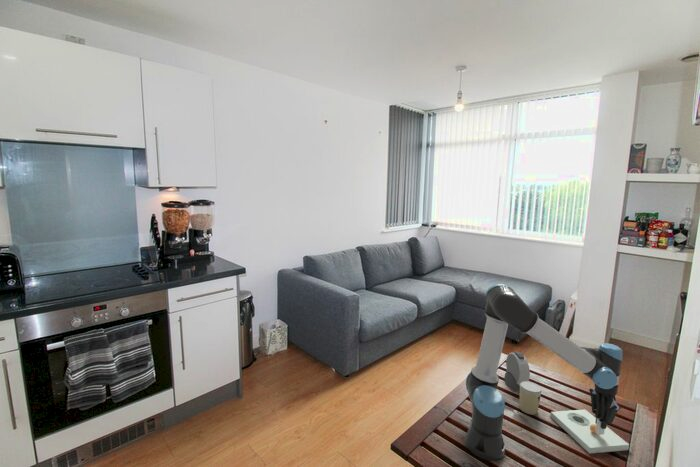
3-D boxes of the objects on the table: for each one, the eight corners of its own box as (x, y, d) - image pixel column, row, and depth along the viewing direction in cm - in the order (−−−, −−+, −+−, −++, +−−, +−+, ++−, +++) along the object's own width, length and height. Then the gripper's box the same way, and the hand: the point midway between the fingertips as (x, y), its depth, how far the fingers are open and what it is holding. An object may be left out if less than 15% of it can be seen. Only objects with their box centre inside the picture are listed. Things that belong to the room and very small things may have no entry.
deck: (628, 450, 138) (629, 444, 137) (589, 453, 135) (590, 447, 135) (584, 414, 159) (585, 409, 159) (550, 416, 157) (550, 411, 156)
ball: (594, 426, 142) (587, 422, 145) (594, 435, 141) (588, 431, 145) (601, 426, 142) (594, 422, 146) (602, 435, 142) (595, 431, 145)
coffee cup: (542, 417, 156) (545, 393, 155) (520, 414, 158) (523, 390, 156) (535, 404, 165) (538, 382, 164) (515, 401, 167) (517, 379, 166)
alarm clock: (533, 393, 174) (536, 361, 172) (513, 393, 174) (516, 360, 172) (517, 376, 190) (521, 346, 188) (500, 375, 190) (502, 345, 188)
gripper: (629, 390, 132) (621, 444, 135) (601, 372, 145) (594, 422, 148) (612, 391, 131) (605, 445, 134) (585, 373, 144) (579, 423, 147)
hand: (599, 433), depth 141 cm, fingers closed
